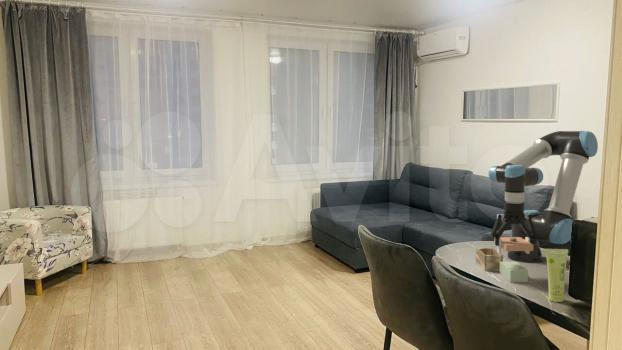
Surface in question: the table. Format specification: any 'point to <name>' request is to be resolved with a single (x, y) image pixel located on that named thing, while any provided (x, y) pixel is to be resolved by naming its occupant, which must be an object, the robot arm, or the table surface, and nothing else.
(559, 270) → the tube
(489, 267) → the box
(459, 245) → the table surface
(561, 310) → the table surface
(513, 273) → the pale green rectangular block
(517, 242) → the lid
